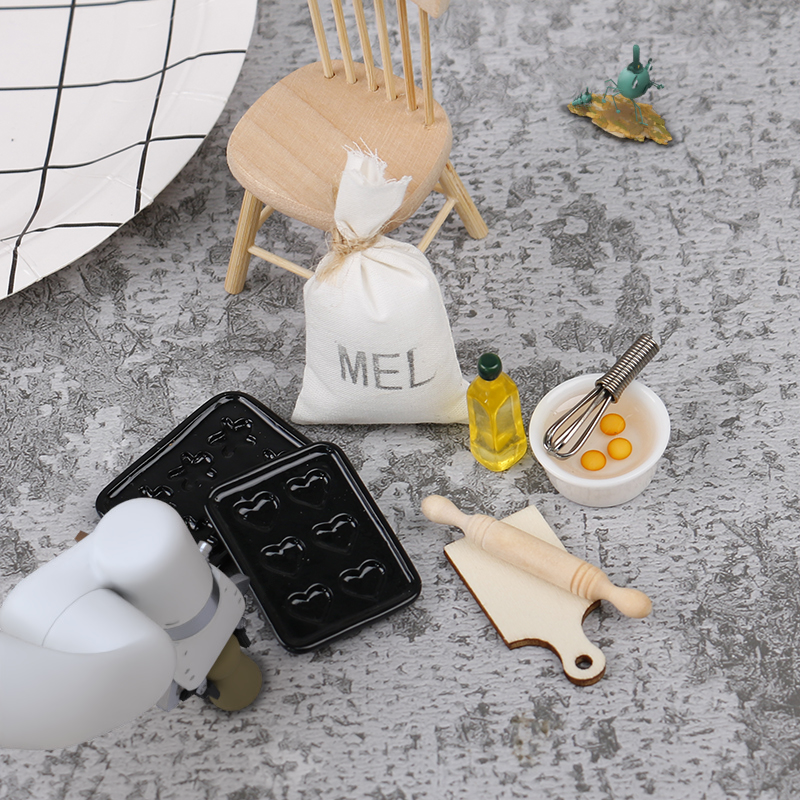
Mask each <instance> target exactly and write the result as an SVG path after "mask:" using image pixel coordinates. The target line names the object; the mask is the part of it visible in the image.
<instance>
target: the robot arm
mask: <svg viewBox="0 0 800 800" xmlns="http://www.w3.org/2000/svg"><path fill="white" fill-rule="evenodd" d="M88 534H89V535H88V536H86V537H85V538H84V539H82V540H81V541H79V542H78V543H77V542H76V543H75V544H74V545H72V546H71V547H69V548H67V549H66V550H64V551H63V552H61V553H60V554H58V555H56V556H55V557H53V558H52V559H51V560H49V561H46V563H45V564H43V565H41V566H40V567H38V568H37V569H35V570H34V571H33V572H31V573H30V574H28V575H27V576H26V577H24V578H23V579H21V580H20V581H19V582H18V583H17V584H16V585H15V586H14V587H13V588H12V589H11V591H9V593H8V594H7V595H6V597H5V598H4V600H3V602H2V603H1V606H0V749H4V750H5V749H6V750H17V751H19V750H20V751H37V752H40V751H54V750H55V751H56V750H61V749H68V748H71V747H75V746H78V745H81V744H84V743H86V742H87V743H88V741H89V742H90V741H91V740H94V739H96V738H99V737H101V736H103V735H107V734H108V733H111V732H112V731H115V730H118V729H120V728H122V727H124V726H125V725H128V724H129V723H130V722H133V721H134V720H136V719H138V718H139V717H140V716H142V715H143V714H145V713H146V712H148V711H149V710H150V709H151V708H153V706H155V705H156V708H158V709H160V710H162V711H164V712H165V713H169V712H171V711H172V710H173V709H175V707H176V706H179V703H180V702H183V703H184V702H186V701H187V700H189V699H190V698H191V697H192V696H196V697H198V698H199V699H201V700H204V701H205V700H206V699H207V698H208V697H209V696H210V697H212V698H214V699H216V700H218V699H219V697H220V691H219V690H218V689H217V687H216V686H215V685H214V683H213V682H212V681H210V680H208V679H206V675H207V674H208V672H209V671H210V669H211V667H212V666H213V664H214V663H215V661H216V659H217V658H218V656H219V654H220V653H221V651H222V650H223V648H224V646H225V645H226V643H227V641H228V640H229V638H230V636H231V635H232V633H233V634H234V636H235V637H236V638H237V640H238V642H239V645H240V647H242V648H244V649H248V648H250V647H251V645H252V641H251V639H250V638H249V636H248V635H247V629H246V627H245V625H246V623H247V618H246V617H244V616H243V615H244V613H245V610H246V605H247V597H246V596H245V595H247V592H248V589H249V586H250V582H251V577H250V576H248V575H246V574H243V573H241V572H238V573H235V574H233V575H230V576H227V575H226V574H225V573H224V572H222V570H220V569H219V568H218V567H216V566H215V565H214V564H212V563H210V559H209V557H210V553H211V552H212V550H213V547H212V546H211V544H209V543H208V542H206V541H204V540H199V542H198V543H197V542H196V541H195V539H194V537H193V535H192V534H191V532H190V529H189V528H188V526H187V524H186V522H185V521H184V519H183V518H182V517H181V515H180V514H179V512H178V511H177V510H176V509H175V508H174V507H172V506H171V504H170V505H169V504H168V503H166V502H164V501H162V500H159V499H156V498H152V497H137V498H131V499H129V500H124V501H123V502H121V503H118V504H117V505H115V506H114V507H112V508H111V509H109V511H108V512H106V513H105V514H104V516H103V517H102V518H101V519H100V520H99V521H98V523H97V524H96V526H95V528H94V530H93V531H92V532H90V533H88ZM210 697H209V698H210Z"/></svg>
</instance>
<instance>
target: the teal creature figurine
mask: <svg viewBox="0 0 800 800" xmlns="http://www.w3.org/2000/svg"><path fill="white" fill-rule="evenodd" d="M640 55H641V48H640V46H639V45H638V44H637V43H636V44H633V45H632V61H631V62H630V63H628V64H627V66H625V67H624V68H623V69H622V70H621V71H620V73H619V74H618V77H617V81H616V82H615V81H614V80H613V79H612V78H610V79H607V80H604V82H603V83H605V84H606V83H608V82H611V83H613V85H615V87H613V86H606V90H605V92H604V93H594V92H593V90H591V91H590V92H589V86H586V89H585V92H584V93H583V92H580V96H579V95H577V96H575V97H574V98H573V100H572V101H570V102H569V104H568V105H567V108H568V110H569V111H570V113H572V114H575V115H578V116H579V117H581V116H582V117H589V118H591V122H592V123H593V124H594V125H595V126H598V127H599V128H601V129H602V130H604V131H605V132H607V133H609V134H611V135H613V136H616V137H618V138H620V139H624V138H628V139H630V140H634V141H639V142H645V138H646V139H651V140H653V141H654V142H655V143H658V144H660V145H669V143H668V142H669V141H673V136H672V135H671V132H669V130H667V129H666V126H665V125H666V121H665V119H663V118H662V116H661V115H660V114H658V113H657V111H656V110H655V109H653V108H654V107H653V105H652V104H649V103H643V102H639V101H636V100H635V99H638V98H641V97H642V96H644V95H646V93H647V92H648V90H649V89H651V88H652V87H653V86H654V87H655V88H656V90H661V89H663V90H664V89H665V86H664V85H663V84H662V83H660V84H658V83H656V82H655V81H656V80H655V79H656V78H655V77H654V78H653V79H654V80H653V81H652V80H651V77H650V74H649V73H650V72H651V71H653V65H652V62H653V57H650V58H648V60H647V63H646V65H645V66H644V64H643V63H642V62H641V61H640V57H641V56H640ZM609 89H613V91H612V93H614V94H607V93H608V90H609ZM616 91H618V92H616Z"/></svg>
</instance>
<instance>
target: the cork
mask: <svg viewBox="0 0 800 800" xmlns="http://www.w3.org/2000/svg"><path fill="white" fill-rule="evenodd" d="M262 676H263V675H262V671H261V669H260V667H259V665H258V664H257V663H256V662H255V661H254V660H253V659H252V658H251V657H249V655H247V654H246V653H245V652H243V650H241V646H240V645H239V642H238V640H237V638H236V637H235V636H234V634H233V633H232V635H231V636H230V638H229V640H228V641H227V643H226V645H225V646H224V648H223V650H222V651H221V653H220V654H219V656H218V658H217V659H216V661H215V663H214V664H213V666H212V667H211V669H210V671H209V672H208V674H207V675H206V679H208V680H210V681H212V682H213V683H214V685H215V686H216V687H217V689H218V690H219V691H220V697H219V699H218V700H216V699H214V698H212V697H210V696H209V695H208V697H209V700H210V701H211V703H213V704H214V706H216V707H217V708H218V709H221V710H223V711H229V712H234V711H240V710H242V709H245V708H247V707H249V706H250V705H251V704H252V703H253V702H254V701H255V700H256V699H257V698H258V696H259V694H260V693H261V689H262V685H263V677H262Z"/></svg>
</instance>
